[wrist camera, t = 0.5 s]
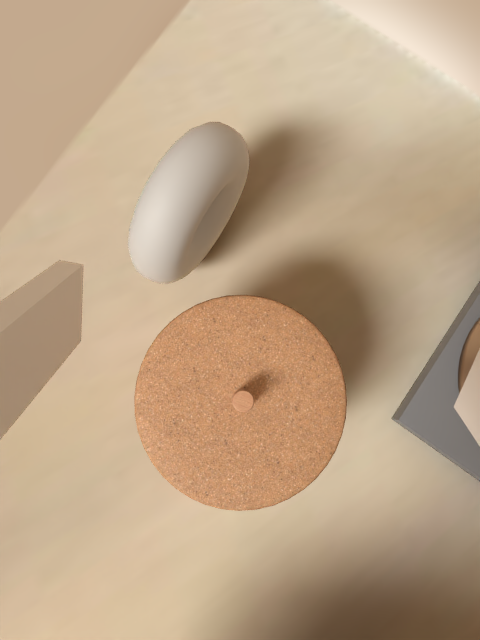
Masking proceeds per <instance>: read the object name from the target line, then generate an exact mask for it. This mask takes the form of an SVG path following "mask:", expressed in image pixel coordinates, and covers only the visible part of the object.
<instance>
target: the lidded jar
mask: <svg viewBox="0 0 480 640" xmlns="http://www.w3.org/2000/svg"><path fill="white" fill-rule="evenodd" d="M346 406H347V398H346V387H345V381H344V377H343V373H342V369H341V366H340V364H339V362H338V359H337V357H336V354H335V352H334V351H333V349H332V347H331V346H330V344H329V342H328V341H327V339H326V338H325V337H324V336H323V334H322V333H321V332H320V331H319V330H318V328H317V327H316V326H315V325H314V324H312V323H311V322H310V321H309V320H308V319H307V318H306V317H304V316H303V315H301V314H300V313H298V312H297V311H295V310H294V309H292V308H291V307H288V306H286V305H284V304H282V303H279V302H277V301H274V300H271V299H267V298H263V297H259V296H249V295H232V296H224V297H219V298H214V299H210V300H208V301H205V302H202V303H200V304H197V305H195V306H193V307H191V308H190V309H188V310H186V311H184V312H183V313H181V314H180V315H179V316H177V317H176V318H175V319H174V320H172V321H171V322H170V323H169V324H168V325H167V326H166V327H165V328H164V329H163V330H162V331H161V332H160V333H159V335H158V336H157V337H156V339H155V340H154V342H153V343H152V345H151V346H150V348H149V349H148V351H147V353H146V356H145V358H144V360H143V362H142V364H141V367H140V371H139V374H138V378H137V382H136V390H135V417H136V423H137V428H138V432H139V435H140V438H141V441H142V444H143V446H144V449H145V451H146V452H147V454H148V456H149V458H150V460H151V462H152V463H153V464H154V466H155V467H156V468H157V470H158V471H159V472H160V473H161V475H162V476H163V477H164V478H165V479H166V480H167V481H168V482H169V483H170V484H172V485H173V486H174V487H175V488H176V489H178V490H179V491H181V492H182V493H184V494H185V495H187V496H188V497H190V498H192V499H194V500H196V501H198V502H201V503H203V504H205V505H209V506H212V507H216V508H220V509H227V510H238V511H241V510H255V509H260V508H264V507H269V506H273V505H275V504H278V503H280V502H282V501H285V500H287V499H289V498H291V497H292V496H294V495H296V494H297V493H299V492H300V491H302V490H304V489H305V488H306V487H307V486H308V485H309V484H310V483H312V482H313V481H314V480H315V479H316V478H317V477H318V476H319V474H320V473H321V472H322V471H323V470H324V468H325V467H326V466H327V465H328V463H329V461H330V459H331V458H332V456H333V454H334V453H335V451H336V449H337V446H338V444H339V441H340V438H341V436H342V432H343V428H344V423H345V419H346Z"/></svg>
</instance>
